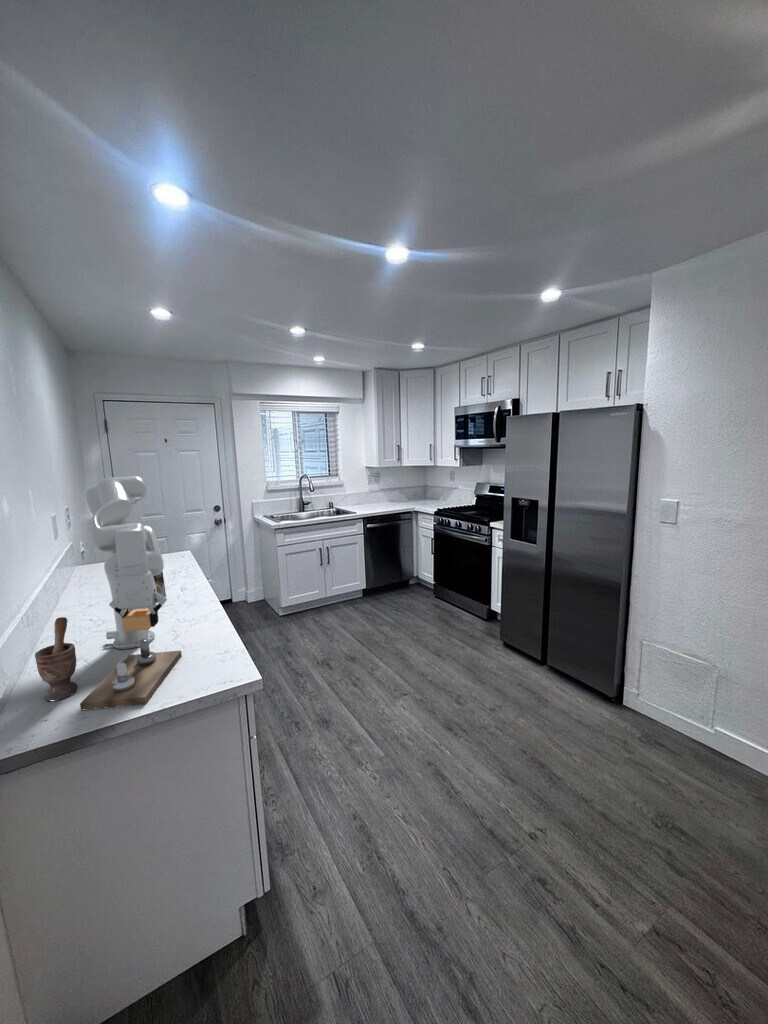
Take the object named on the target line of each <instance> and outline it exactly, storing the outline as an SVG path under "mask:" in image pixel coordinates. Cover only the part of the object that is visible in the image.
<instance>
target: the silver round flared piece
mask: <svg viewBox="0 0 768 1024" xmlns="http://www.w3.org/2000/svg"><path fill="white" fill-rule="evenodd" d="M115 668H116V672H117V679H116V680H114V681H113V682H112V688H113V692H115V693H121V692H125V691H128V690H130V689H132V688H133V687H134V686H135V680H134V676H128V674H127V667H126V664H125V663H124V662H122V661H121V662H118V663H117V664H116V666H115Z"/></svg>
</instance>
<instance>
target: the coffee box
mask: <svg viewBox="0 0 768 1024" xmlns="http://www.w3.org/2000/svg"><path fill="white" fill-rule="evenodd" d="M163 571H164V570H163ZM163 571H162V572H161V573H160V574H158V575H155V576H153V578H154V581H155V585H156V589H157V592H158V593H159V594H161V595H162V596H164V597H166V598H167V593H166V586H165V578H164V572H163Z"/></svg>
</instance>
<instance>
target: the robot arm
mask: <svg viewBox="0 0 768 1024" xmlns="http://www.w3.org/2000/svg"><path fill="white" fill-rule="evenodd" d="M147 489H148V488H147V485H146V483H145V481H144V480H143V479H142V478H141V476H136V475H129V476H112V477H106V478H104V479H102V480H100V481H99V482H98V483H97V484H96V485H92V486H90V487H89V488H88V489H87V490H86V492H85V501H86V503H87V506H88V509H89V510H90V513H91V514H92V517H91V519H90V523H89V532H90V535H91V536H90V538H91V541H92V544H93V548H94V549H95V550H96V551H98V552H102V553H106V552H107V554H109V555H110V557H108V558H107V559H106V560H105V562H104V565H103V567H104V573H105V576H106V579H107V581H108V585H109V589H110V593H111V601H110V602H109V604H108V605H109V607H111V608H112V609H113V613H114V620H115V628H116V630H115V631H114V630H111V631H106V633H105V637H106V640H114V641H113V647H114V648H115V649H118V650H129V649H135V648H140V644H139V641H140V640H142V639H148V642H149V643H150V642H152V641H153V640H155V639H154V638H156V637H155V635H156V633H155V632H154V631H152V630H150V629H149V630H140V631H127V632H124V627H123V620H122V619H123V618H124V617H125V616H126V615H128V614H129V613H130V612H131V611H132V610H138V609H149V611H150V612H151V614H150V621H151V628H154V627H156V625H157V624H158V623H159V613H158V612H159V610H160V609H161V608H162V607H163V605H164V604H165V603H166V602H167V600H168V599H167V597H166V598H165V597H164V596H162V595H161V594H159V593H158V592H157V589H156V585H155V581H154V578H153V576H155V575H158V574H160V573H161V572H162V571H164V568H165V566H164V560H163V556H162V552H161V549H160V545H159V541H158V538H157V536H156V532H155V531H154V529H153V528H152V527H151V526H148V525H143V524H142V523H139V522H132V523H128V519H127V518H128V517H129V516H130V515H131V514H132V512H133V506H134V505H138V504H141V503H142V502H144V500H145V499H146V498H147V497H146V496H147V493H148V490H147ZM156 602H158V604H157V603H156Z"/></svg>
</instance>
